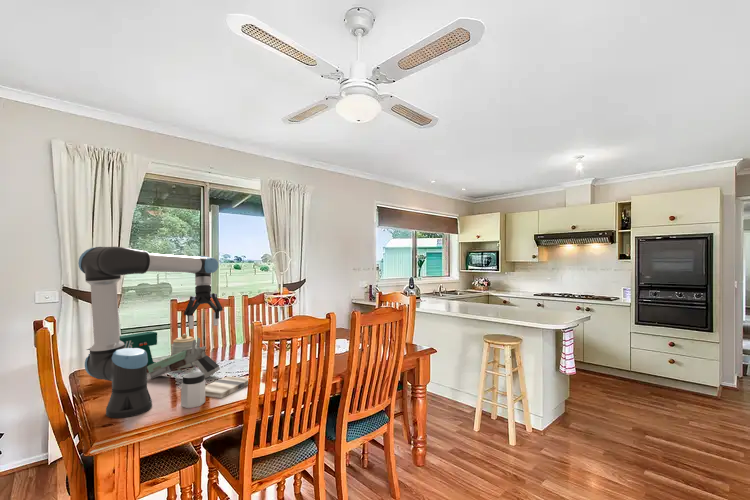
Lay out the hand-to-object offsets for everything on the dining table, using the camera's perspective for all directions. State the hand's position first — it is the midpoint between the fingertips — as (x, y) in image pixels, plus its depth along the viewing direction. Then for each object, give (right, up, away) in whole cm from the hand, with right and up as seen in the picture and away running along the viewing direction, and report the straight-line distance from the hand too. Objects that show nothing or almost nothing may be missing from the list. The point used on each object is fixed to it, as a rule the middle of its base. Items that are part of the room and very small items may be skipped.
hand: (203, 327), depth 188 cm
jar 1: (-20, -26, +20) cm, 38 cm away
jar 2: (+12, -24, -36) cm, 45 cm away
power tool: (-42, -25, +1) cm, 49 cm away
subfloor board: (+18, -25, -17) cm, 35 cm away
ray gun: (-9, -25, -1) cm, 27 cm away
